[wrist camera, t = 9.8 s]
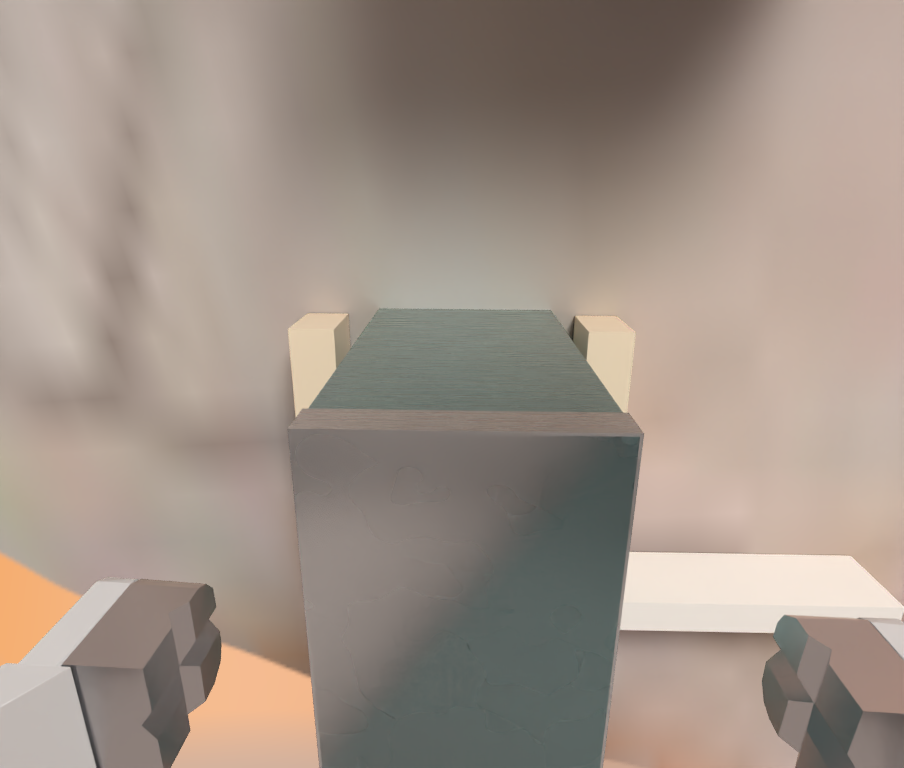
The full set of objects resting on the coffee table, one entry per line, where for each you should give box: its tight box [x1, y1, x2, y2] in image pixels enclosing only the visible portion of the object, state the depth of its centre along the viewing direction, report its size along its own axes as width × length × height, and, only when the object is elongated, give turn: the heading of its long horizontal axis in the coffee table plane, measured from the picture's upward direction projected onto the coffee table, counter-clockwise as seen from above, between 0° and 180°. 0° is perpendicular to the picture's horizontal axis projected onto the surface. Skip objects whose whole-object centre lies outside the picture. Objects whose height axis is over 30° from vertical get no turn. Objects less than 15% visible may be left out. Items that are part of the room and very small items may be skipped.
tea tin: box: [288, 309, 644, 768], centre depth 14 cm, size 5×7×9 cm
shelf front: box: [288, 313, 904, 633], centre depth 17 cm, size 18×9×2 cm, turn 90°
